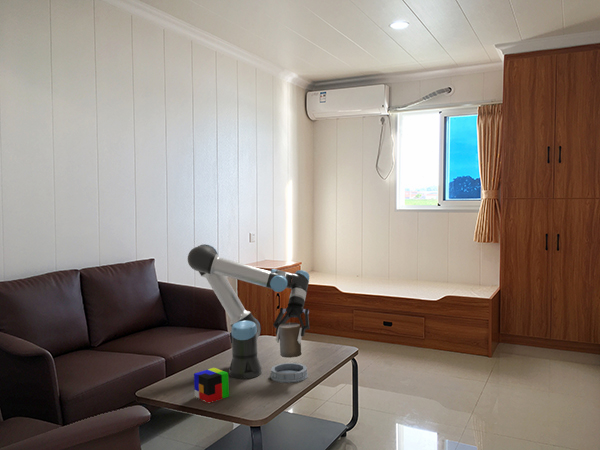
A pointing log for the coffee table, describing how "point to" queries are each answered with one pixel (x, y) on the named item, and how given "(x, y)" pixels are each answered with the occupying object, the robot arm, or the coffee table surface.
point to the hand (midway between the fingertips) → (288, 341)
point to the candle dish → (289, 372)
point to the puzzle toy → (211, 384)
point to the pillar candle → (289, 340)
